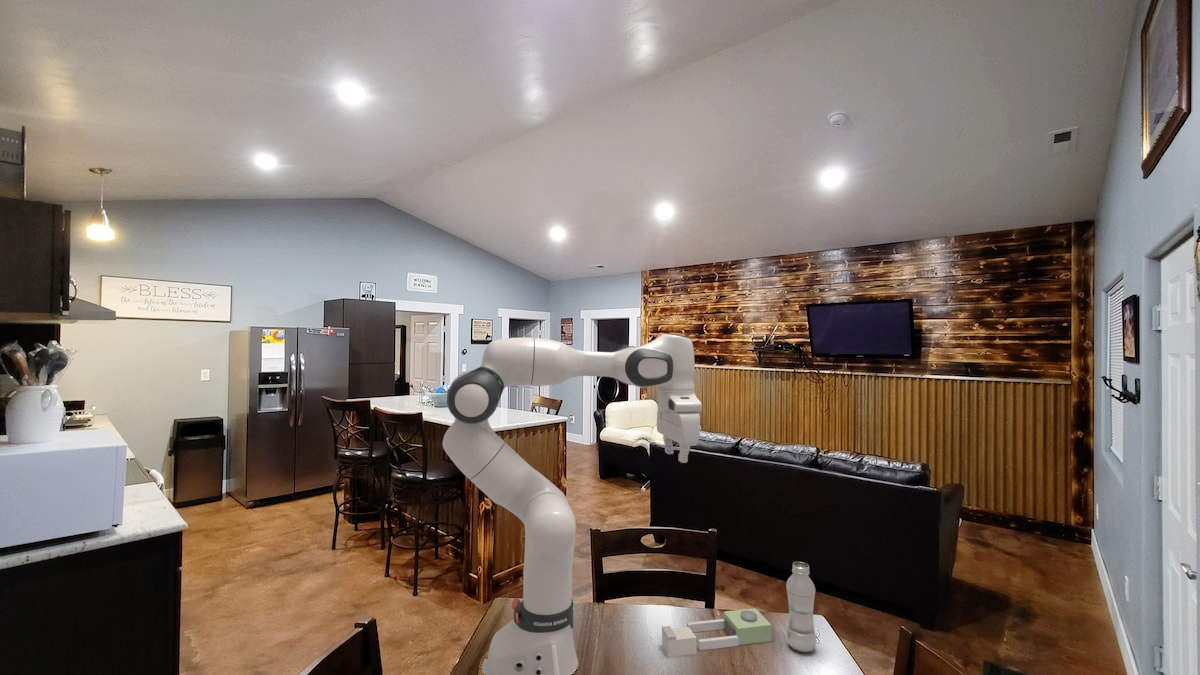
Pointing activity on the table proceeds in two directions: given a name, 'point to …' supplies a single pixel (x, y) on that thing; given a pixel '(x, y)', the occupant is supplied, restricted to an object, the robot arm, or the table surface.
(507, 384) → the robot arm
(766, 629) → the pale green forked block
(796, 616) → the plastic bottle
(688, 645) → the white stepped block
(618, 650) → the table surface
